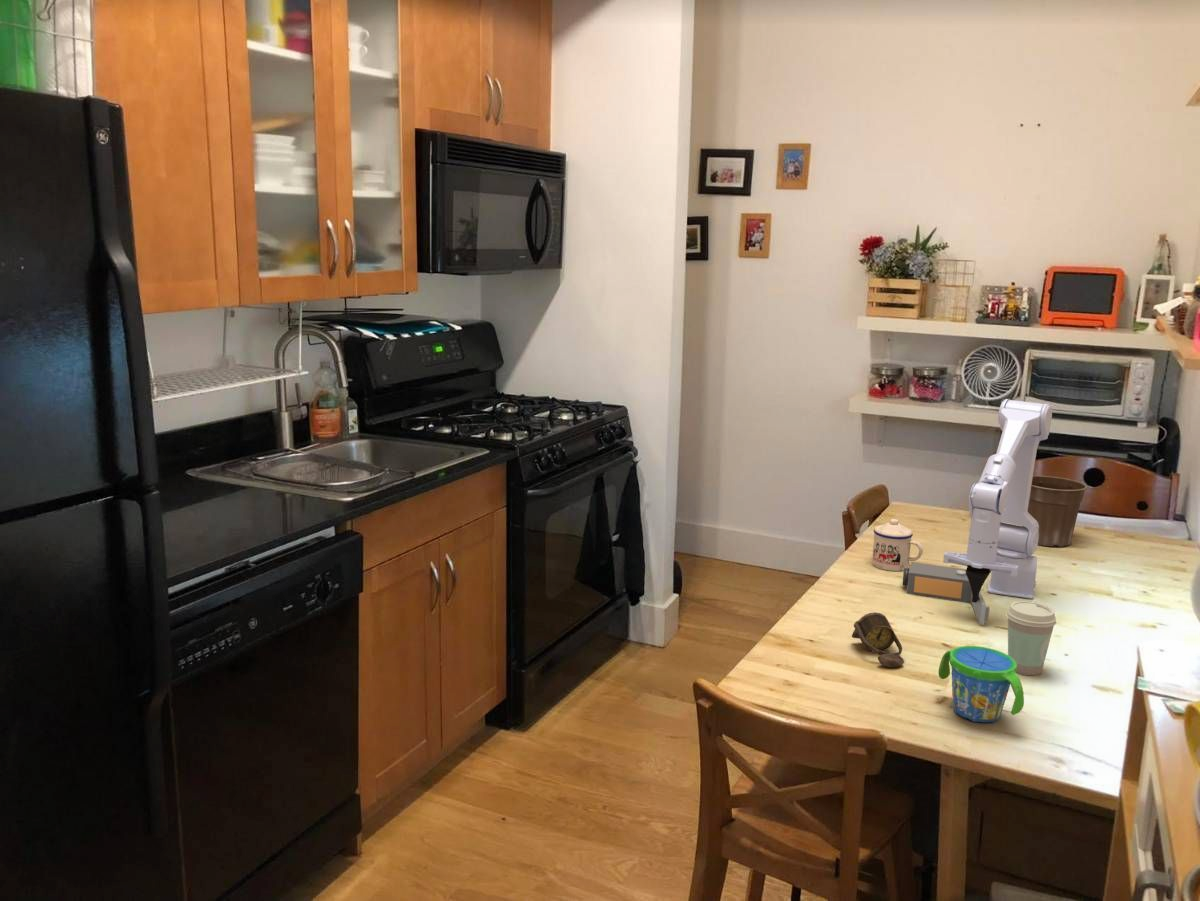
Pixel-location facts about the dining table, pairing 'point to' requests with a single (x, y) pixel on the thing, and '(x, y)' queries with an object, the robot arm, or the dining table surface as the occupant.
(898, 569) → the teacup with lid
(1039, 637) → the coffee cup
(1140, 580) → the dining table surface
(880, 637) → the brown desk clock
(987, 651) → the snack cup
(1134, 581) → the dining table surface
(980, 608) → the grey long bar
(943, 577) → the camera body
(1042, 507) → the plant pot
